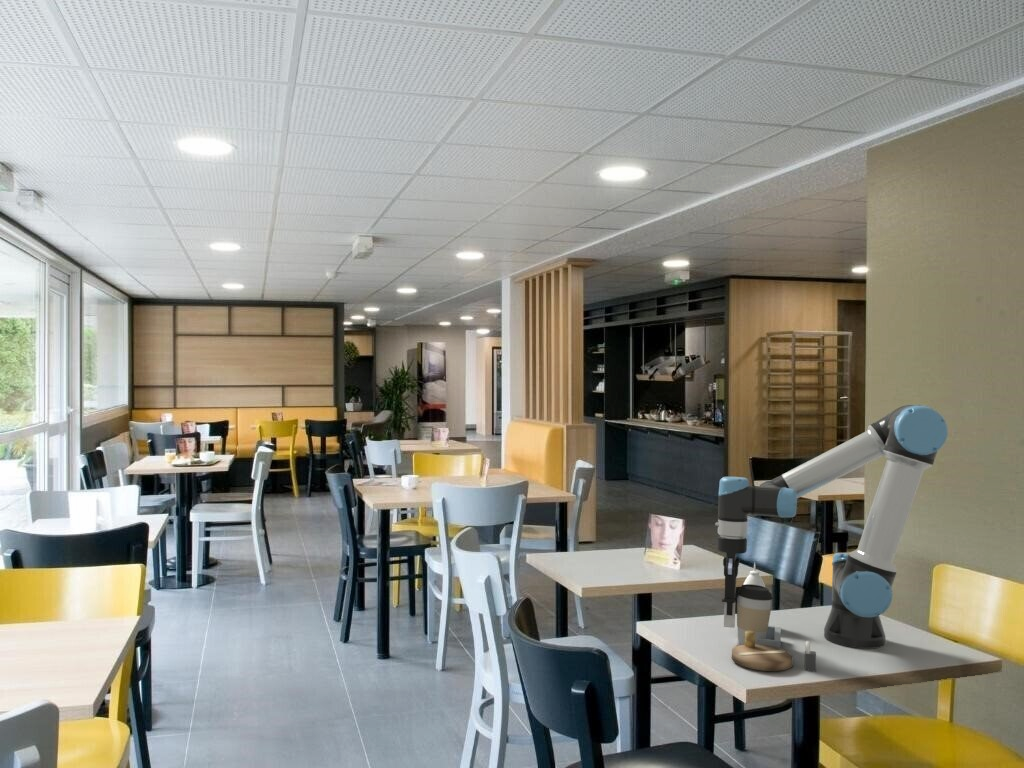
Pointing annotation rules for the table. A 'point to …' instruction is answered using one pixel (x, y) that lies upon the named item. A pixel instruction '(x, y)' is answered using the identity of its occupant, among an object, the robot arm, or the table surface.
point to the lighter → (810, 658)
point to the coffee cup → (753, 611)
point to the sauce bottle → (754, 578)
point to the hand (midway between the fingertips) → (729, 626)
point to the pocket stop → (771, 637)
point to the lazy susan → (760, 655)
